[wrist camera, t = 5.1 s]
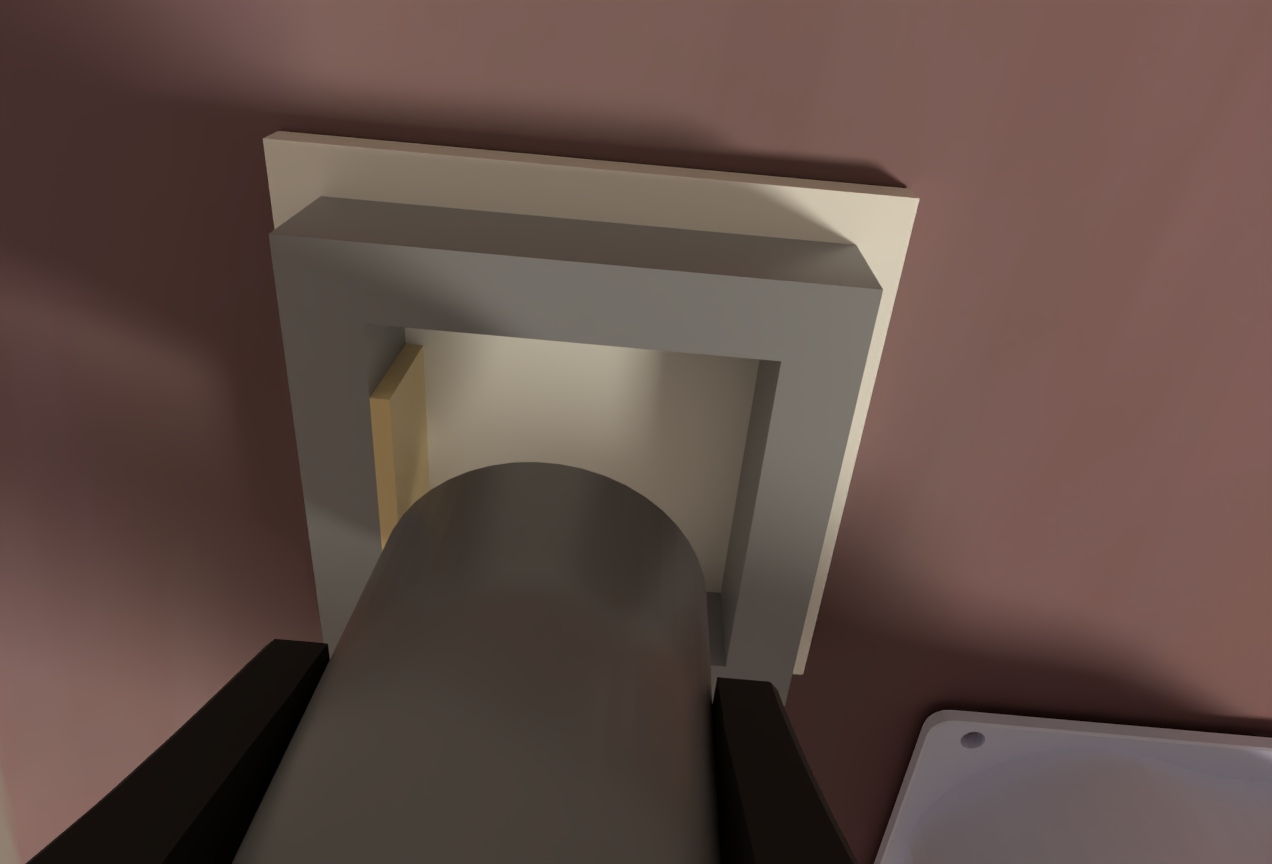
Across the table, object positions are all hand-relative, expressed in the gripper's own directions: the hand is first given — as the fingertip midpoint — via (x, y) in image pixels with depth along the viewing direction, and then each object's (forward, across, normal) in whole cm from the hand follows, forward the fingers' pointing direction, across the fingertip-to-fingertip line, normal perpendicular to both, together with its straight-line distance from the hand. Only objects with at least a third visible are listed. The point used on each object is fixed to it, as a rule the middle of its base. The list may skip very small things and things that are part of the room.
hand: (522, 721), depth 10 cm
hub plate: (+7, 0, 0) cm, 7 cm away
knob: (+2, 0, 0) cm, 2 cm away
